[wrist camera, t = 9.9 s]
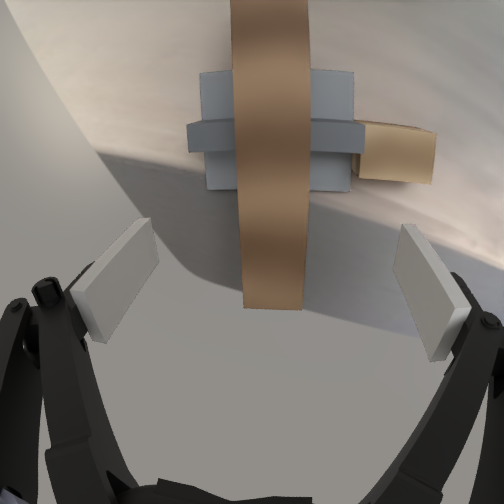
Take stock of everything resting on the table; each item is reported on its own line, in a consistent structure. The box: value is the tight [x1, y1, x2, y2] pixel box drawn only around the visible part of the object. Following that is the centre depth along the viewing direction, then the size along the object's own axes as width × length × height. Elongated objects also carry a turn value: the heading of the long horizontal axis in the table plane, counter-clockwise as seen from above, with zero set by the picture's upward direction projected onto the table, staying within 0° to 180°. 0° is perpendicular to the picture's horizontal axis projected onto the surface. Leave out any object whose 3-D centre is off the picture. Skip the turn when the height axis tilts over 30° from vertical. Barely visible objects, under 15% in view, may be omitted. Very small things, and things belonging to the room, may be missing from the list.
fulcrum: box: [187, 69, 366, 192], centre depth 21 cm, size 10×12×5 cm
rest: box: [351, 120, 437, 184], centre depth 21 cm, size 4×6×4 cm, turn 92°
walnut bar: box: [230, 0, 311, 310], centre depth 17 cm, size 22×4×4 cm, turn 2°
